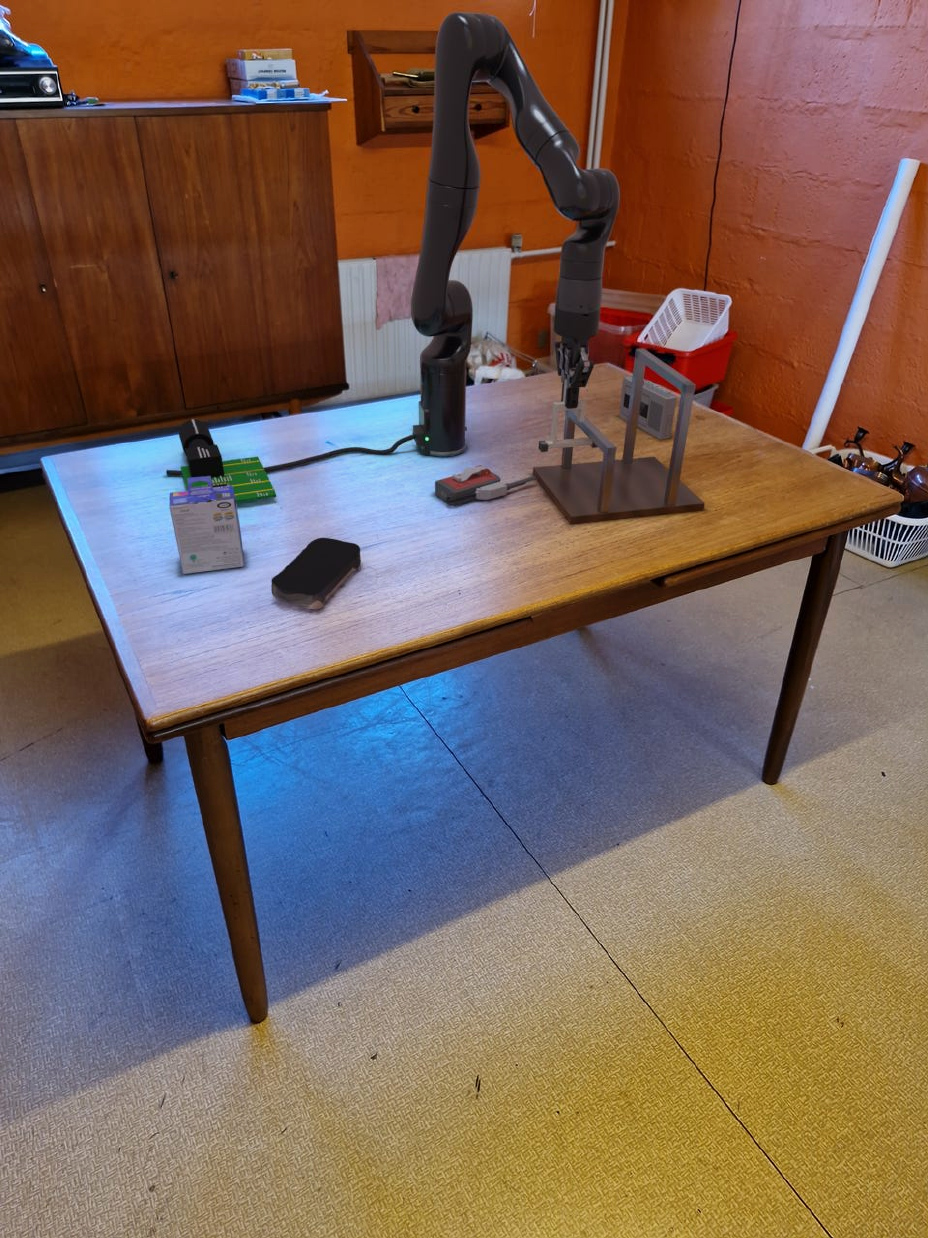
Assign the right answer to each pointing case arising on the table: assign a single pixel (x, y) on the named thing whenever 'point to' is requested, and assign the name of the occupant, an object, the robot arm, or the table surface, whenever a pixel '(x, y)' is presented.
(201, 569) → the ink cartridge box
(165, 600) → the table surface
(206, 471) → the electronic board model
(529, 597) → the table surface
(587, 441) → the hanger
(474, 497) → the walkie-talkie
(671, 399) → the cassette player
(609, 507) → the rack
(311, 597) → the black sponge
